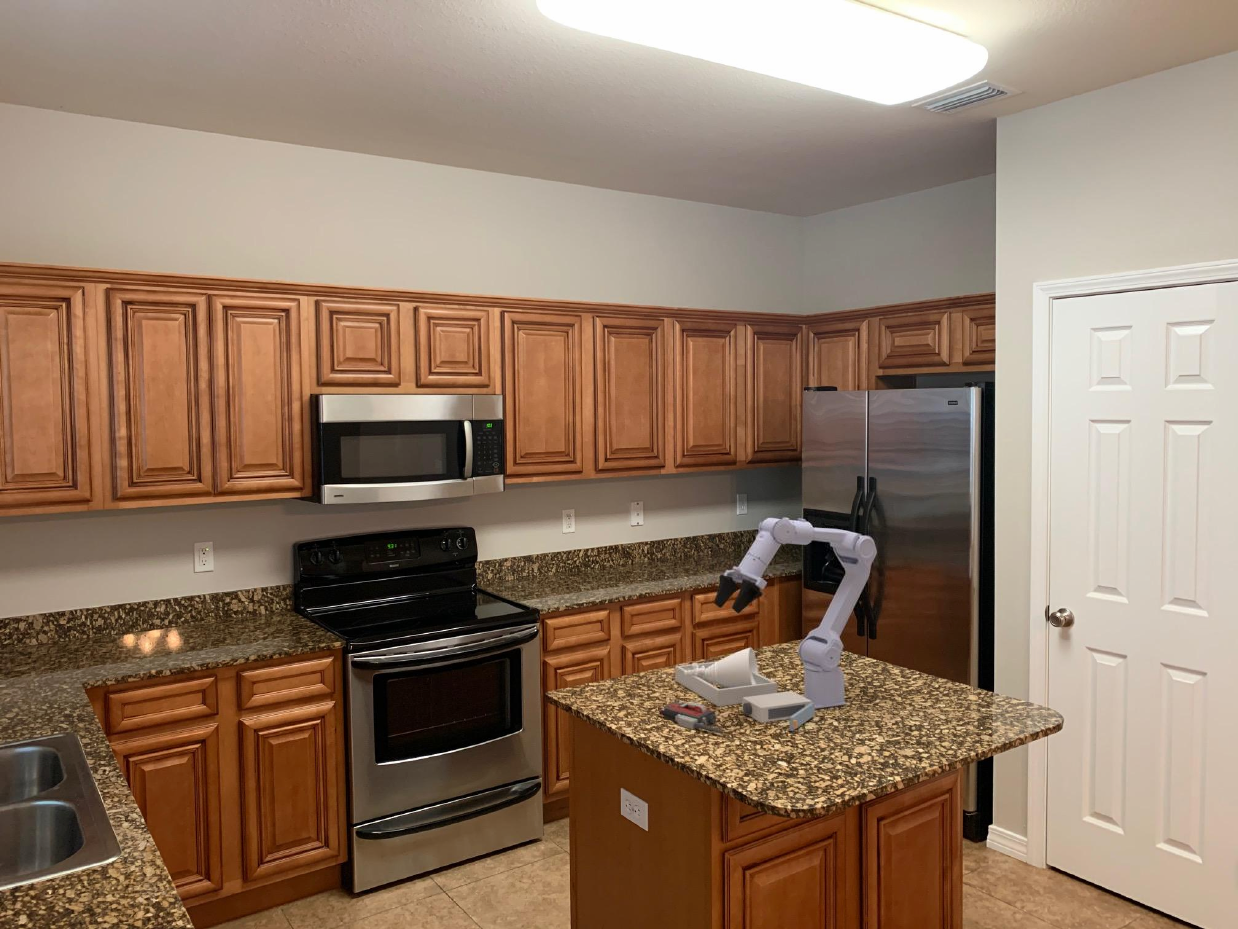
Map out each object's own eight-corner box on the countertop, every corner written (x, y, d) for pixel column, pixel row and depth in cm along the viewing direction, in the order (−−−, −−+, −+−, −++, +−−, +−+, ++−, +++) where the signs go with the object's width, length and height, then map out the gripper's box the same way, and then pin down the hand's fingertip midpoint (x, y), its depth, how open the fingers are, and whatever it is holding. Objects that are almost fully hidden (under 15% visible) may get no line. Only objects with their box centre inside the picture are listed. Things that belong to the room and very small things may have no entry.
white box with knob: (791, 704, 233) (791, 691, 233) (811, 715, 224) (812, 701, 224) (738, 712, 227) (738, 698, 227) (757, 723, 219) (757, 708, 219)
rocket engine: (681, 646, 248) (748, 639, 243) (693, 667, 256) (758, 661, 251) (680, 685, 240) (748, 679, 235) (692, 706, 248) (759, 700, 243)
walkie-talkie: (652, 720, 223) (719, 739, 209) (652, 701, 223) (719, 720, 209) (676, 711, 229) (742, 730, 216) (676, 693, 229) (742, 711, 215)
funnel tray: (730, 674, 261) (730, 660, 261) (777, 698, 238) (777, 683, 238) (675, 680, 255) (675, 666, 255) (717, 706, 232) (717, 690, 232)
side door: (811, 714, 224) (811, 702, 223) (817, 716, 223) (817, 703, 223) (789, 730, 213) (789, 717, 212) (796, 731, 212) (796, 718, 212)
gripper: (728, 548, 228) (698, 593, 225) (763, 555, 215) (732, 603, 212) (746, 564, 231) (717, 610, 227) (782, 572, 218) (752, 620, 215)
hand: (726, 608), depth 220 cm, fingers open, 7 cm apart
